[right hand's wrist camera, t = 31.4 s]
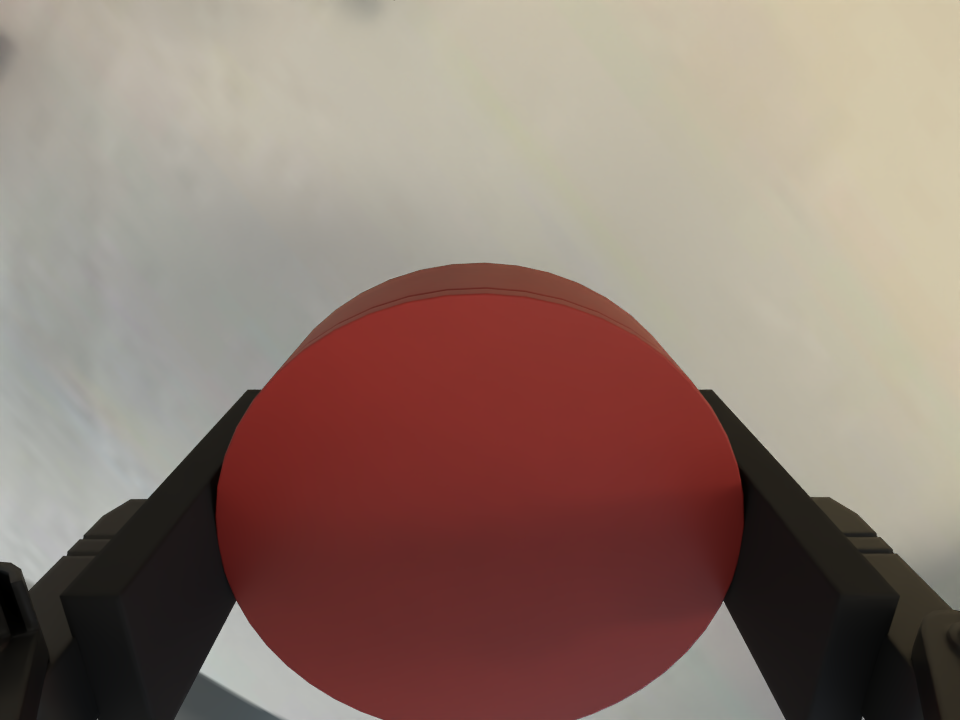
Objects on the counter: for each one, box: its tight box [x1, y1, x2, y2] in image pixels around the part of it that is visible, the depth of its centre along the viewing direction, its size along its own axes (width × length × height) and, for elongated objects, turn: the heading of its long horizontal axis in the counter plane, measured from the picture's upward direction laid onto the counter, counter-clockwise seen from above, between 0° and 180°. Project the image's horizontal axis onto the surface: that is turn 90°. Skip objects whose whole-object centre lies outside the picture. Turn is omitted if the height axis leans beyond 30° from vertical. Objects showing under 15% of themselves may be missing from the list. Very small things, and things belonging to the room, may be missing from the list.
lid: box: [215, 263, 744, 720], centre depth 11 cm, size 9×9×2 cm
